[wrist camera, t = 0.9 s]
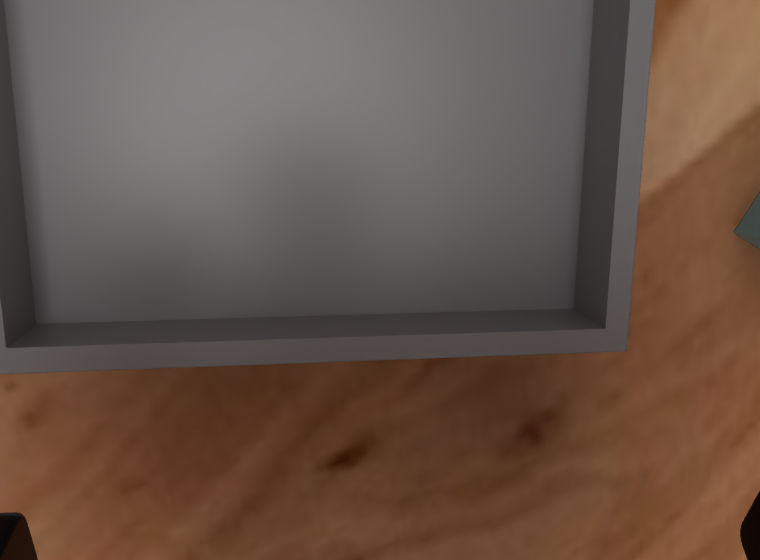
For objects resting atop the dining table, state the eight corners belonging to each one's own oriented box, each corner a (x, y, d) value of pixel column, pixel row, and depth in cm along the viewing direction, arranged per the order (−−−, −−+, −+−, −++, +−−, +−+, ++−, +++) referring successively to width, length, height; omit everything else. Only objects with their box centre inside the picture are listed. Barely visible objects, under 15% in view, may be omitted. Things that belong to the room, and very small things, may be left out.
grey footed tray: (555, 304, 23) (626, 351, 18) (49, 318, 21) (-20, 374, 16) (588, -243, 19) (685, -359, 15) (-10, -287, 17) (-117, -438, 13)
